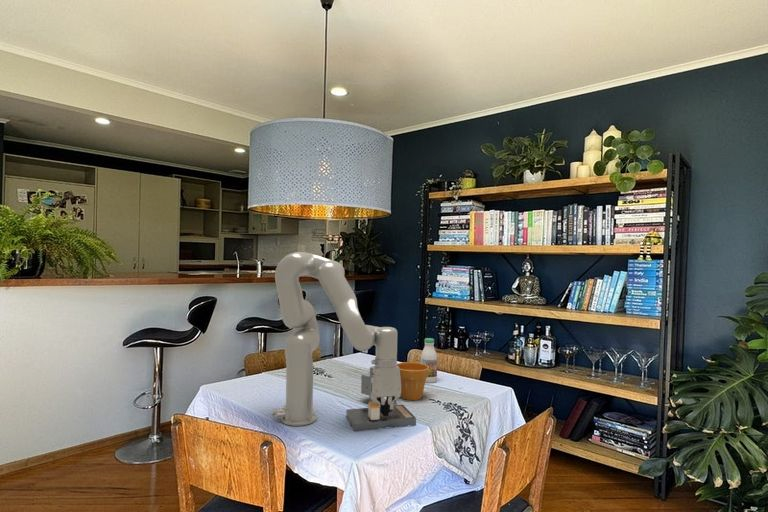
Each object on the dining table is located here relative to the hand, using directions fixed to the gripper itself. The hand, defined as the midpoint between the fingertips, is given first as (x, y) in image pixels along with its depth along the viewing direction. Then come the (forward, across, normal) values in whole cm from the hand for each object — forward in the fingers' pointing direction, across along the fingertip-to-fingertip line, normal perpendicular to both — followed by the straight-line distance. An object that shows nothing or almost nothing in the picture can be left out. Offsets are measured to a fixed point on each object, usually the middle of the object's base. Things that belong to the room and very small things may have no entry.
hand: (385, 414), depth 156 cm
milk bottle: (+4, +36, +46) cm, 58 cm away
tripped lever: (+1, -4, 0) cm, 4 cm away
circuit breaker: (+4, +4, +22) cm, 23 cm away
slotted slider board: (+4, 0, +4) cm, 5 cm away
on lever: (+1, +3, +8) cm, 9 cm away
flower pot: (+4, +20, +26) cm, 33 cm away
